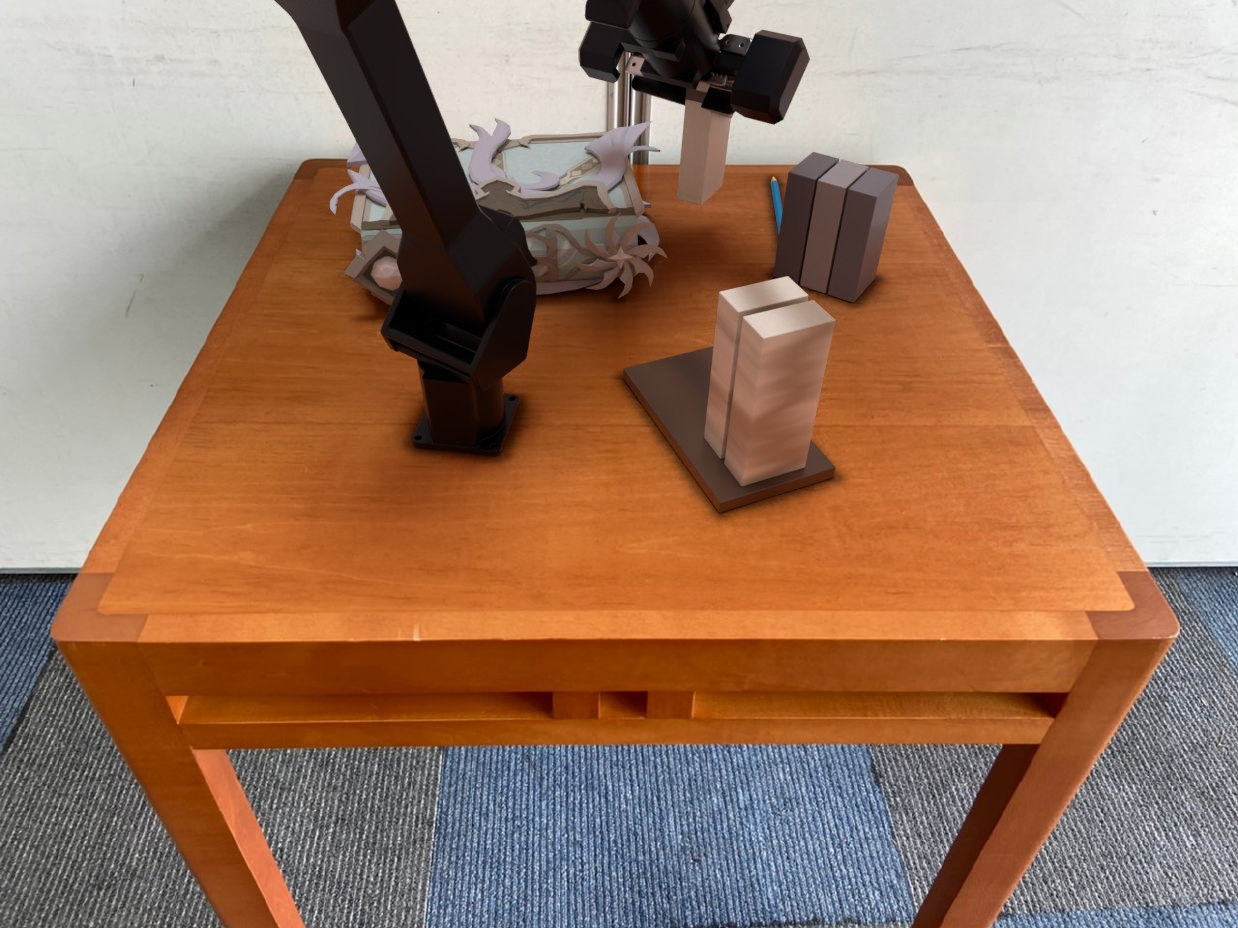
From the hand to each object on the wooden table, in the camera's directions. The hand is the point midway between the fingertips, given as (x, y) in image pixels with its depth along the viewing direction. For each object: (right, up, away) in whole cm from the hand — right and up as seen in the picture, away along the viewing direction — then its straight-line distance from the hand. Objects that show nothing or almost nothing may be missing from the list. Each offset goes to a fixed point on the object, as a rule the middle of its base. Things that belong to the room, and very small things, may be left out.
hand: (717, 109), depth 80 cm
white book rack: (-1, -29, -14) cm, 32 cm away
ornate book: (-19, -11, +5) cm, 23 cm away
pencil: (+7, -7, +11) cm, 15 cm away
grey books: (+10, -15, +2) cm, 18 cm away
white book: (-1, -6, +4) cm, 7 cm away
